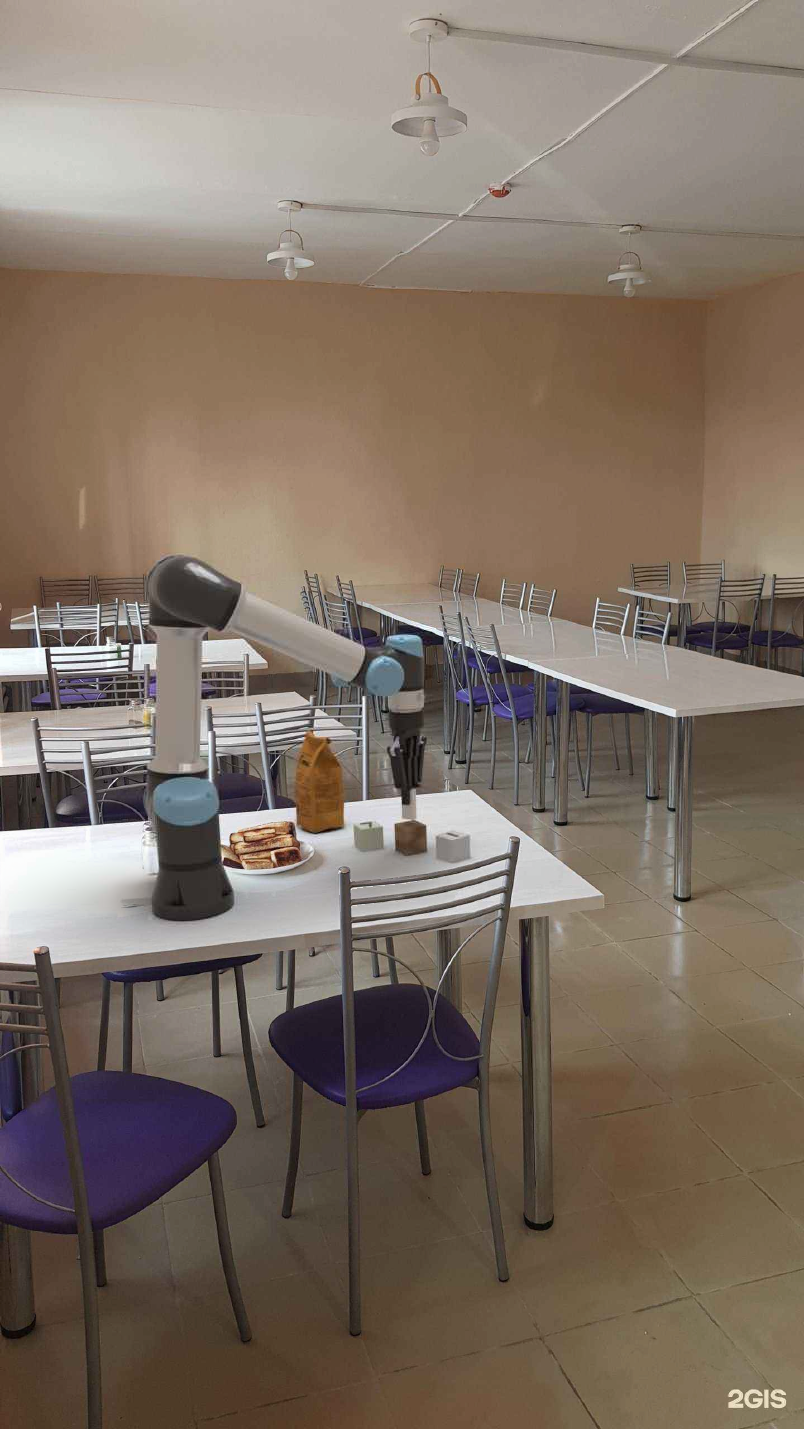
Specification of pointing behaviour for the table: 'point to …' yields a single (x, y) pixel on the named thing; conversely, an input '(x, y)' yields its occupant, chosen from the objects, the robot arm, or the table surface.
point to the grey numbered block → (453, 846)
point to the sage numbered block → (368, 836)
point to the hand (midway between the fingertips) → (409, 818)
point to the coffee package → (318, 786)
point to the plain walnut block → (410, 838)
